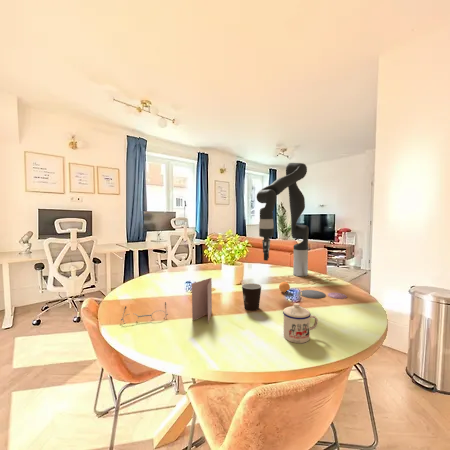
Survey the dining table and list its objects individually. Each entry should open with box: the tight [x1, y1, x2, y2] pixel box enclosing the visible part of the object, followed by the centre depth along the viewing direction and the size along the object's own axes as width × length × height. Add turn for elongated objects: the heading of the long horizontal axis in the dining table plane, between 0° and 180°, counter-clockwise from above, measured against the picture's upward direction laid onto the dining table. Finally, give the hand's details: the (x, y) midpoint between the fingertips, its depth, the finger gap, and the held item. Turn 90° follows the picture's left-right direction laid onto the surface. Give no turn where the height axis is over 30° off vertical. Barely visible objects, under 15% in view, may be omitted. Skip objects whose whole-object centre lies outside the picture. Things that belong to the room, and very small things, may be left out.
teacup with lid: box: [282, 302, 319, 344], centre depth 89 cm, size 12×9×12 cm
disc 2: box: [327, 292, 348, 300], centre depth 131 cm, size 9×9×1 cm
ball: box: [278, 281, 291, 294], centre depth 137 cm, size 6×6×6 cm
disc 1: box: [300, 289, 327, 299], centre depth 134 cm, size 13×13×1 cm
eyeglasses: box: [120, 301, 169, 323], centre depth 112 cm, size 18×19×4 cm
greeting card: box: [191, 277, 213, 323], centre depth 105 cm, size 11×7×15 cm, turn 141°
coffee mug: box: [241, 282, 262, 312], centre depth 117 cm, size 12×9×10 cm
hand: (266, 259), depth 138 cm, fingers open, 5 cm apart
